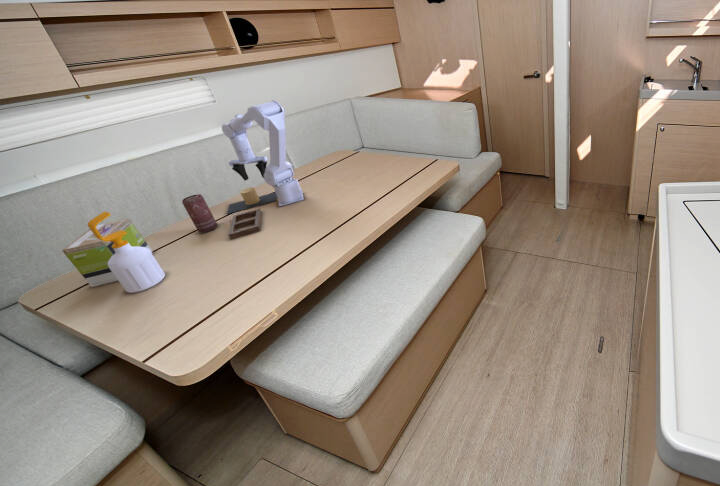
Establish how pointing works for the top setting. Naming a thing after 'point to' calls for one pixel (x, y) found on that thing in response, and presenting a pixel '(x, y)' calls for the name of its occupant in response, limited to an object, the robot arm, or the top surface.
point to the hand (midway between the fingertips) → (255, 178)
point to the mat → (242, 205)
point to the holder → (245, 223)
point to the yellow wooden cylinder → (250, 196)
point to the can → (199, 213)
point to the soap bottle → (129, 260)
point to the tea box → (101, 251)
